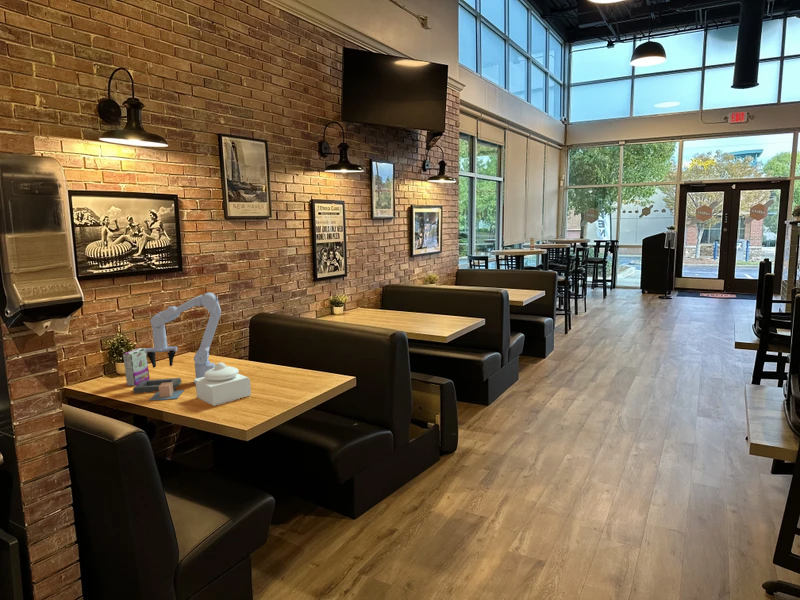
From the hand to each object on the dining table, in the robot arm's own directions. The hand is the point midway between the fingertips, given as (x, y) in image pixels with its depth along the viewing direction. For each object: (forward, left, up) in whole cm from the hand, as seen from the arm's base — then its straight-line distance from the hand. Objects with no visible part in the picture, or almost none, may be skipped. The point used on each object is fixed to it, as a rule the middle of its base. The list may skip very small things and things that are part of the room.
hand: (162, 366), depth 257 cm
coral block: (-6, +18, -9) cm, 21 cm away
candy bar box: (+15, -8, -10) cm, 20 cm away
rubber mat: (-6, +18, -9) cm, 21 cm away
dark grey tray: (+2, +4, -9) cm, 10 cm away
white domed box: (-32, +26, -10) cm, 43 cm away
